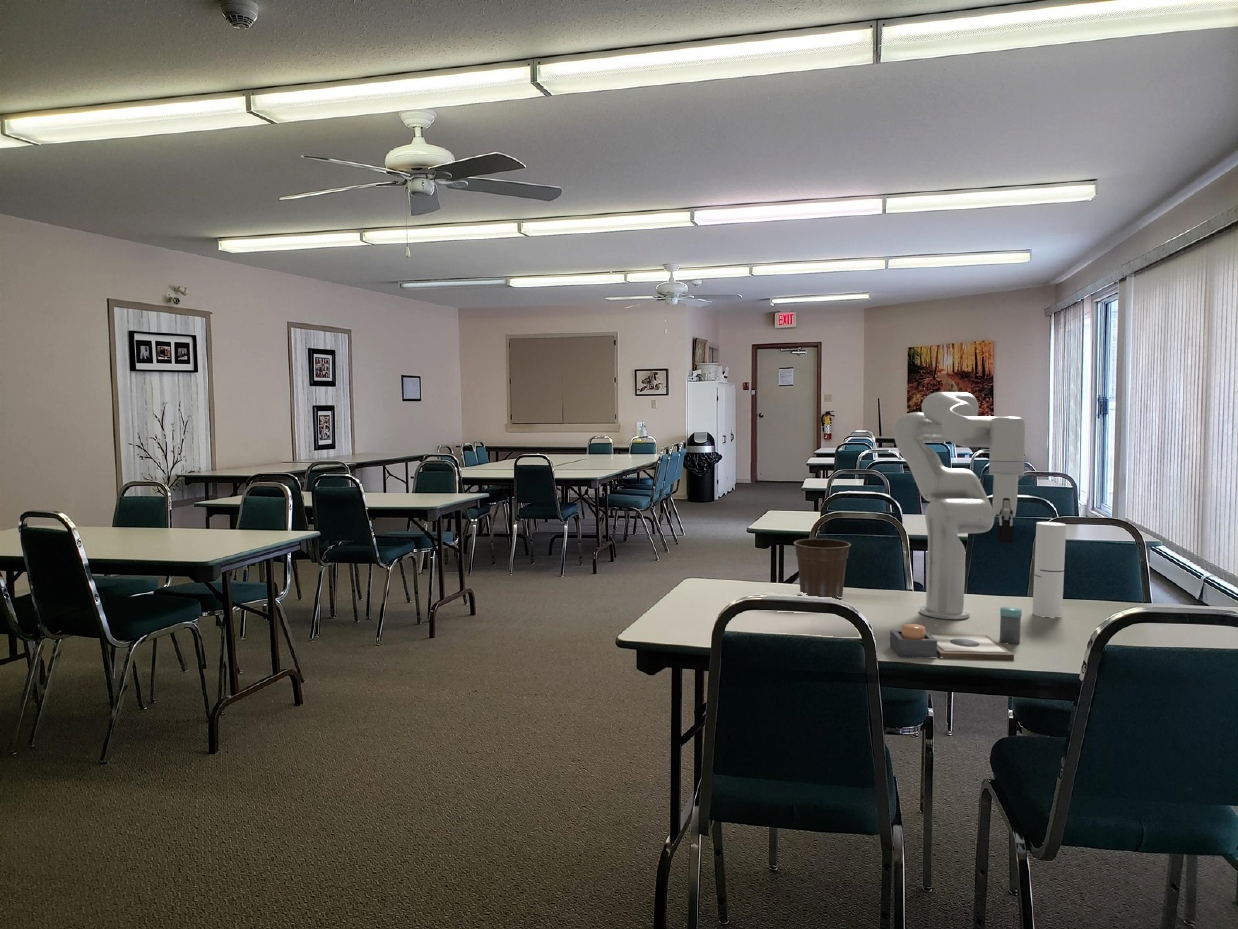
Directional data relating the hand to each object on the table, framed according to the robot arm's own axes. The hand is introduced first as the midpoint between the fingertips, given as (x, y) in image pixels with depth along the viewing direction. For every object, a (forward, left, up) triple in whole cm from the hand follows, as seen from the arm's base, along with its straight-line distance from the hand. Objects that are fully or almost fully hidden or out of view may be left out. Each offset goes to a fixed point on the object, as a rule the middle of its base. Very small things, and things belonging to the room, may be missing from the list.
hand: (1004, 540), depth 199 cm
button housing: (+11, -24, -25) cm, 36 cm away
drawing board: (+7, -11, -25) cm, 28 cm away
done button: (+11, -24, -22) cm, 34 cm away
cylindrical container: (-28, +23, -25) cm, 44 cm away
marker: (0, +2, -25) cm, 25 cm away
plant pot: (-44, -35, -25) cm, 62 cm away
